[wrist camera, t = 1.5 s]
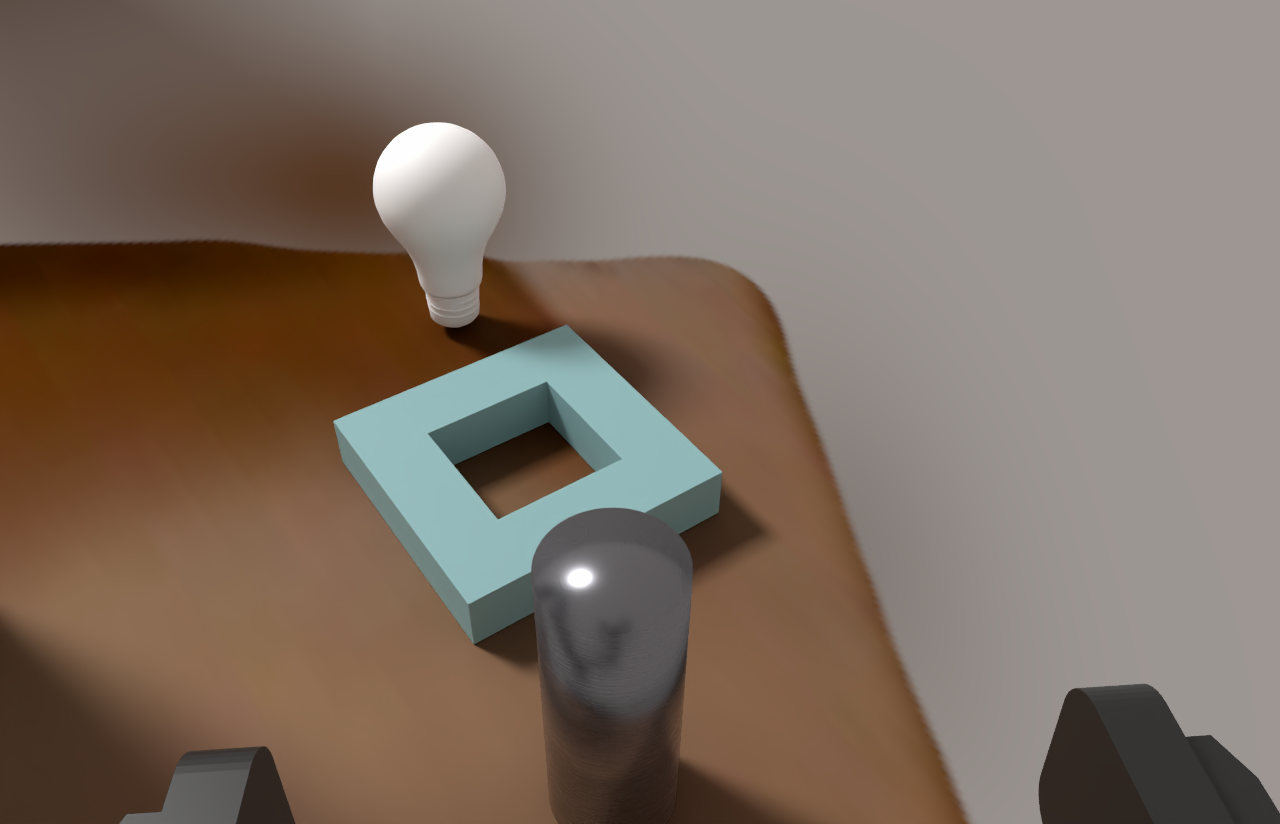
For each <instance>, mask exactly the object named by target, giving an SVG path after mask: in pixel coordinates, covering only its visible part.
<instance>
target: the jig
mask: <svg viewBox="0 0 1280 824" xmlns="http://www.w3.org/2000/svg"><path fill="white" fill-rule="evenodd" d="M333 422H334V426H335V431H336V435H337V439H338V443H339V448H340V452H341V456H342V460H343V463H344V464H345V465H346V467H347V468H348V470H349V471H350V472H351V474H352V475H353V477H354V478H355V479H356V481H357V482H358V484H359V485H360V486H361V488H362V489H363V490H364V492H365V493H366V495H367V496H368V497H369V499H370V500H371V502H372V503H373V504H374V506H375V507H376V509H377V510H378V511H379V513H380V514H381V516H382V517H383V518H384V520H385V521H386V523H387V524H388V525H389V527H390V528H391V530H392V531H393V532H394V534H395V535H396V537H397V538H398V539H399V541H400V542H401V544H402V545H403V546H404V548H405V549H406V550H407V552H408V553H409V555H410V556H411V557H412V559H413V560H414V562H415V563H416V564H417V566H418V567H419V569H420V570H421V571H422V573H423V574H424V576H425V577H426V578H427V580H428V581H429V583H430V584H431V585H432V587H433V588H434V590H435V591H436V592H437V594H438V595H439V597H440V598H441V599H442V601H443V602H444V604H445V605H446V606H447V608H448V609H449V610H450V612H451V613H452V615H453V616H454V617H455V619H456V620H457V622H458V623H459V624H460V626H461V627H462V629H463V630H464V631H465V633H466V634H467V636H468V637H469V638H470V640H471V641H472V643H473V644H476V643H478V642H479V641H481V640H483V639H485V638H487V637H489V636H491V635H492V634H494V633H496V632H498V631H500V630H502V629H504V628H505V627H507V626H509V625H511V624H513V623H515V622H517V621H518V620H520V619H522V618H524V617H526V616H528V615H530V614H531V613H533V612H534V603H533V590H532V578H531V565H532V560H533V556H534V553H535V551H536V548H537V547H538V545H539V543H540V542H541V540H542V539H543V538H544V536H545V535H546V534H547V533H548V532H549V531H550V530H551V529H552V528H553V527H555V526H556V525H557V524H559V523H560V522H562V521H564V520H565V519H567V518H569V517H571V516H573V515H576V514H578V513H581V512H585V511H588V510H593V509H599V508H627V509H632V510H637V511H641V512H644V513H647V514H649V515H652V516H654V517H656V518H658V519H660V520H662V521H663V522H665V523H666V524H668V525H669V526H670V527H671V528H673V529H674V530H675V531H676V532H677V533H678V534H680V533H682V532H683V531H685V530H687V529H689V528H691V527H693V526H695V525H696V524H698V523H700V522H702V521H704V520H706V519H708V518H709V517H711V516H713V515H715V514H717V513H719V502H720V492H721V481H722V471H721V470H720V469H719V468H717V467H716V466H715V465H714V464H713V463H712V462H711V461H710V460H709V459H708V458H707V457H706V456H705V455H704V454H703V453H702V452H701V451H700V450H698V449H697V448H696V447H695V446H694V445H693V444H692V443H691V442H690V441H689V440H688V439H687V438H686V437H685V436H684V435H683V434H682V433H681V432H680V431H678V430H677V429H676V428H675V427H674V426H673V425H672V424H671V423H670V422H669V421H668V420H667V419H666V418H665V417H664V416H663V415H662V414H661V413H659V412H658V411H657V410H656V409H655V408H654V407H653V406H652V405H651V404H650V403H649V402H648V401H647V400H646V399H645V398H644V397H643V396H642V395H640V394H639V393H638V392H637V391H636V390H635V389H634V388H633V387H632V386H631V385H630V384H629V383H628V382H627V381H626V380H625V379H624V378H623V377H621V376H620V375H619V374H618V373H617V372H616V371H615V370H614V369H613V368H612V367H611V366H610V365H609V364H608V363H607V362H606V361H605V360H604V359H603V358H601V357H600V356H599V355H598V354H597V353H596V352H595V351H594V350H593V349H592V348H591V347H590V346H589V345H588V344H587V343H586V342H585V341H584V340H582V339H581V338H580V337H579V336H578V335H577V334H576V333H575V332H574V331H573V330H572V329H571V328H570V327H569V326H568V325H565V326H562V327H560V328H557V329H555V330H552V331H550V332H548V333H545V334H543V335H540V336H538V337H535V338H533V339H531V340H528V341H526V342H523V343H521V344H519V345H516V346H514V347H511V348H509V349H506V350H504V351H502V352H499V353H497V354H494V355H492V356H489V357H487V358H485V359H482V360H480V361H477V362H475V363H473V364H470V365H468V366H465V367H463V368H460V369H458V370H456V371H453V372H451V373H448V374H446V375H443V376H441V377H439V378H436V379H434V380H431V381H429V382H427V383H424V384H422V385H419V386H417V387H414V388H412V389H410V390H407V391H405V392H402V393H400V394H397V395H395V396H393V397H390V398H388V399H385V400H383V401H381V402H378V403H376V404H373V405H371V406H368V407H366V408H364V409H361V410H359V411H356V412H354V413H351V414H349V415H347V416H344V417H342V418H339V419H337V420H335V421H333ZM547 422H549V423H550V424H551V425H552V426H553V427H554V428H555V429H556V430H557V431H558V432H559V433H560V434H561V435H562V436H563V437H564V439H565V440H566V441H567V442H568V443H569V444H570V445H571V446H572V447H573V448H574V449H575V450H576V451H577V452H578V453H579V454H580V456H581V457H582V458H583V459H584V460H585V461H586V462H587V463H588V464H589V465H590V466H591V467H592V468H593V469H594V470H595V471H596V472H594V473H592V474H590V475H588V476H586V477H584V478H582V479H580V480H578V481H576V482H574V483H572V484H570V485H568V486H566V487H564V488H562V489H560V490H558V491H556V492H554V493H551V494H549V495H547V496H545V497H543V498H541V499H539V500H537V501H535V502H533V503H531V504H529V505H527V506H525V507H523V508H521V509H519V510H517V511H515V512H513V513H511V514H509V515H506V516H504V517H502V518H500V519H497V518H496V517H495V515H494V514H493V513H492V512H491V511H490V509H489V508H488V507H487V506H486V504H485V503H484V502H483V501H482V499H481V498H480V497H479V496H478V495H477V493H476V492H475V491H474V490H473V488H472V487H471V486H470V485H469V484H468V482H467V481H466V480H465V479H464V477H463V476H462V475H461V474H460V473H459V471H458V470H457V469H456V468H455V466H454V465H455V464H457V463H459V462H462V461H464V460H466V459H468V458H470V457H473V456H475V455H477V454H479V453H481V452H484V451H486V450H488V449H490V448H492V447H495V446H497V445H499V444H501V443H503V442H506V441H508V440H510V439H512V438H514V437H517V436H519V435H521V434H523V433H525V432H528V431H530V430H532V429H534V428H536V427H539V426H541V425H543V424H545V423H547Z"/></svg>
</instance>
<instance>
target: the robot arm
mask: <svg viewBox="0 0 1280 824" xmlns="http://www.w3.org/2000/svg"><path fill="white" fill-rule="evenodd" d="M1039 805H1040V813H1041V818H1042V823H1043V824H1280V813H1279V811H1278V810H1277V808H1276V807H1275V805H1274V803H1273V802H1272V800H1271V798H1270V797H1269V795H1268V793H1267V792H1266V790H1265V789H1264V787H1263V785H1262V784H1261V782H1260V781H1259V779H1258V778H1257V777H1256V776H1255V775H1254V774H1253V773H1252V772H1251V771H1250V770H1248V769H1247V768H1246V767H1245V766H1244V765H1243V764H1242V763H1241V762H1240V761H1239V760H1238V759H1236V758H1235V757H1234V756H1233V755H1232V754H1231V753H1230V752H1229V751H1228V750H1227V749H1225V748H1224V747H1223V746H1222V745H1221V744H1220V743H1219V742H1218V741H1217V740H1215V739H1214V738H1213V737H1212V736H1211V735H1206V736H1191V737H1185V735H1184V734H1183V732H1182V730H1181V728H1180V727H1179V725H1178V723H1177V721H1176V720H1175V718H1174V716H1173V714H1172V713H1171V711H1170V709H1169V707H1168V705H1167V704H1166V702H1165V701H1164V699H1163V697H1162V696H1161V695H1160V694H1159V692H1158V691H1157V690H1155V689H1154V688H1153V687H1151V686H1149V685H1147V684H1134V685H1119V686H1105V687H1089V688H1075V689H1072V690H1071V691H1069V692H1068V694H1067V696H1066V698H1065V700H1064V703H1063V706H1062V710H1061V713H1060V716H1059V719H1058V722H1057V725H1056V728H1055V732H1054V735H1053V738H1052V741H1051V744H1050V747H1049V750H1048V754H1047V757H1046V760H1045V763H1044V766H1043V769H1042V772H1041V776H1040V781H1039ZM119 824H295V821H294V818H293V816H292V813H291V810H290V807H289V804H288V801H287V798H286V795H285V792H284V789H283V786H282V783H281V780H280V777H279V774H278V772H277V769H276V766H275V763H274V760H273V757H272V755H271V752H270V751H269V749H268V748H267V747H264V746H261V747H247V748H232V749H217V750H202V751H189V752H187V753H185V754H184V755H183V756H182V758H181V759H180V761H179V762H178V764H177V766H176V769H175V772H174V774H173V778H172V781H171V784H170V787H169V790H168V793H167V796H166V799H165V803H164V806H163V809H162V812H152V813H138V814H127V815H126V816H125V817H124V818H123V820H122V821H121V822H120V823H119Z"/></svg>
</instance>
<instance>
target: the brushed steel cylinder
mask: <svg viewBox="0 0 1280 824" xmlns="http://www.w3.org/2000/svg"><path fill="white" fill-rule="evenodd" d="M531 578H532V590H533V603H534V615H535V627H536V639H537V652H538V664H539V676H540V689H541V701H542V713H543V725H544V738H545V750H546V762H547V775H548V787H549V798H550V804H551V808H552V811H553V814H554V816H555V818H556V820H557V822H558V823H559V824H666V823H667V822H668V820H669V818H670V817H671V815H672V812H673V809H674V806H675V802H676V793H677V780H678V767H679V753H680V740H681V727H682V713H683V700H684V687H685V674H686V660H687V647H688V634H689V620H690V607H691V594H692V581H693V562H692V558H691V554H690V552H689V550H688V547H687V545H686V544H685V542H684V541H683V539H682V538H681V537H680V536H679V534H678V533H677V532H676V531H675V530H674V529H673V528H671V527H670V526H669V525H668V524H666V523H665V522H663V521H662V520H660V519H658V518H656V517H654V516H652V515H649V514H647V513H644V512H641V511H637V510H632V509H627V508H599V509H593V510H588V511H585V512H581V513H578V514H576V515H573V516H571V517H569V518H567V519H565V520H564V521H562V522H560V523H559V524H557V525H556V526H555V527H553V528H552V529H551V530H550V531H549V532H548V533H547V534H546V535H545V536H544V538H543V539H542V540H541V542H540V543H539V545H538V547H537V548H536V551H535V553H534V556H533V560H532V565H531Z"/></svg>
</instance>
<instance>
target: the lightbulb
mask: <svg viewBox="0 0 1280 824" xmlns="http://www.w3.org/2000/svg"><path fill="white" fill-rule="evenodd" d="M373 195H374V201H375V205H376V208H377V210H378V212H379V214H380V217H381V219H382V221H383V223H384V224H385V225H386V227H387V228H388V229H389V231H390V232H391V233H392V234H393V236H394V237H395V238H396V239H397V240H398V241H399V243H400V244H401V245H402V246H403V247H404V248H405V249H406V250H407V252H408V254H409V255H410V257H411V258H412V260H413V262H414V265H415V267H416V270H417V274H418V279H419V283H420V285H421V287H422V288H423V289H424V291H426V299H427V301H428V307H429V310H430V315H431V317H432V319H433V320H434V321H435V322H437V323H438V324H440V325H442V326H445V327H452V328H458V327H461V326H465V325H467V324H469V323H471V322H472V321H474V319H475V318H476V317H477V316H478V314H479V304H480V302H479V285H480V283H481V280H482V261H483V254H484V250H485V247H486V244H487V241H488V240H489V238H490V236H491V234H492V233H493V231H494V229H495V227H496V225H497V223H498V221H499V219H500V216H501V214H502V212H503V207H504V202H505V196H506V186H505V178H504V174H503V171H502V168H501V165H500V163H499V161H498V160H497V157H496V156H495V154H494V152H493V151H492V150H491V148H490V147H489V146H488V145H487V144H486V143H485V142H484V141H483V140H481V138H479V137H478V136H477V135H476V134H474V133H473V132H471V131H469V130H467V129H465V128H462V127H459V126H457V125H453V124H449V123H426V124H421V125H418V126H415V127H412V128H410V129H408V130H406V131H405V132H403V133H401V134H399V135H398V136H397V137H395V138H394V139H393V140H392V141H391V142H390V144H389V145H388V146H387V147H386V148H385V150H384V151H383V153H382V155H381V157H380V158H379V160H378V163H377V166H376V169H375V173H374V179H373Z"/></svg>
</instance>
